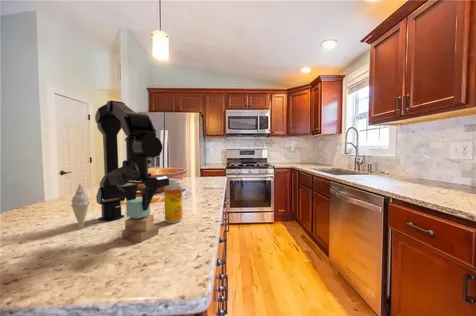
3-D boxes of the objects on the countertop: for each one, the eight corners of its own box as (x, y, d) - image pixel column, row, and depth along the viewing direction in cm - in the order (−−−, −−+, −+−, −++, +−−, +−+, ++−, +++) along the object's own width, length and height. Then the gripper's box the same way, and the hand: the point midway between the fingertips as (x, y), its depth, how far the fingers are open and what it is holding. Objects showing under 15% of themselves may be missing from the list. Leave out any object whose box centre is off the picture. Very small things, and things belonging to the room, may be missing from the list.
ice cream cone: (94, 227, 79) (92, 182, 79) (79, 232, 75) (77, 184, 74) (82, 225, 81) (81, 181, 80) (68, 230, 76) (66, 183, 76)
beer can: (177, 224, 82) (177, 180, 81) (161, 223, 83) (160, 180, 82) (185, 218, 88) (184, 178, 87) (170, 218, 89) (169, 178, 88)
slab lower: (122, 240, 69) (122, 230, 69) (140, 232, 75) (140, 223, 75) (141, 244, 66) (140, 233, 66) (158, 235, 73) (158, 225, 72)
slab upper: (125, 231, 68) (125, 220, 67) (134, 224, 74) (134, 215, 73) (146, 231, 68) (146, 220, 68) (153, 224, 74) (153, 214, 74)
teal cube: (126, 216, 69) (126, 201, 69) (138, 212, 73) (138, 198, 73) (138, 218, 67) (137, 202, 67) (150, 214, 72) (149, 199, 71)
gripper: (89, 157, 66) (90, 213, 67) (140, 158, 59) (141, 221, 59) (122, 156, 76) (124, 204, 77) (169, 156, 69) (170, 210, 70)
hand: (138, 209), depth 70 cm, fingers open, 5 cm apart
